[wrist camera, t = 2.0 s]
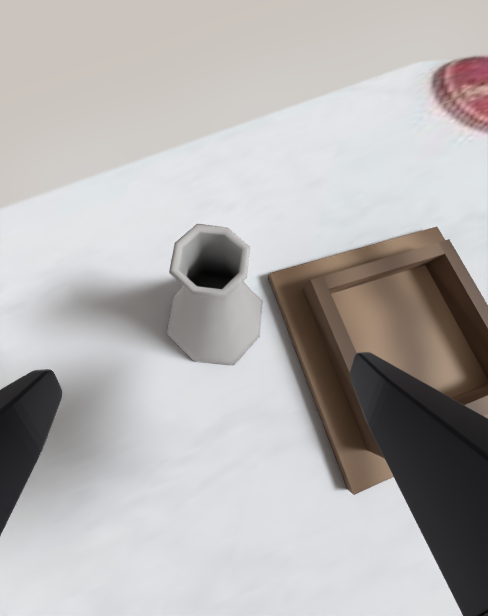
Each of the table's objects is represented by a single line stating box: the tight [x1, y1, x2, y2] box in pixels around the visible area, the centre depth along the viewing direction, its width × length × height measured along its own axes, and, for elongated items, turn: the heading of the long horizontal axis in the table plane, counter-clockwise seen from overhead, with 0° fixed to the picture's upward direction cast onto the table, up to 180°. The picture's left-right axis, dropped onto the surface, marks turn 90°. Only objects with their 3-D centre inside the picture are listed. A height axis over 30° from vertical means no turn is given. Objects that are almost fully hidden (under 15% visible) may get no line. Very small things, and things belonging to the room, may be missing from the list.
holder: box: [268, 227, 488, 495], centre depth 19 cm, size 16×16×3 cm
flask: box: [167, 224, 262, 365], centre depth 15 cm, size 7×7×10 cm
